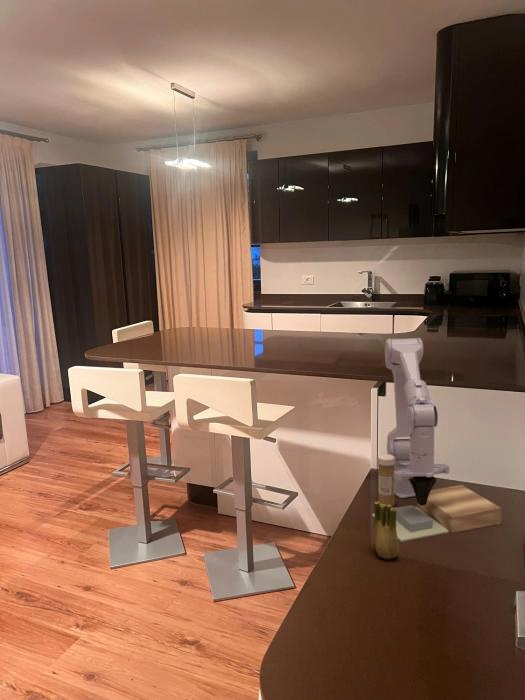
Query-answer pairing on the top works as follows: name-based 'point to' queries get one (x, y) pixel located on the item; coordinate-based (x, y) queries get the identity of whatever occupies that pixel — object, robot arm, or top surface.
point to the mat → (407, 535)
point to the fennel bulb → (385, 531)
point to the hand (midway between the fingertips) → (421, 503)
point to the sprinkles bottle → (386, 479)
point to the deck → (460, 509)
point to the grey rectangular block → (413, 519)
